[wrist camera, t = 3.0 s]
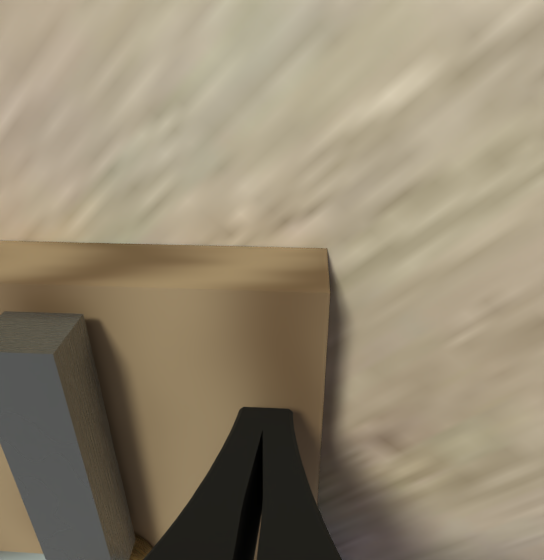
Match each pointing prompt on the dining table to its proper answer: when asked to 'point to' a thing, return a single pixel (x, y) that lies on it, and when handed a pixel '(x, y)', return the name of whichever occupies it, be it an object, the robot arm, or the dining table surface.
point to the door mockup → (177, 357)
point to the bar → (62, 439)
